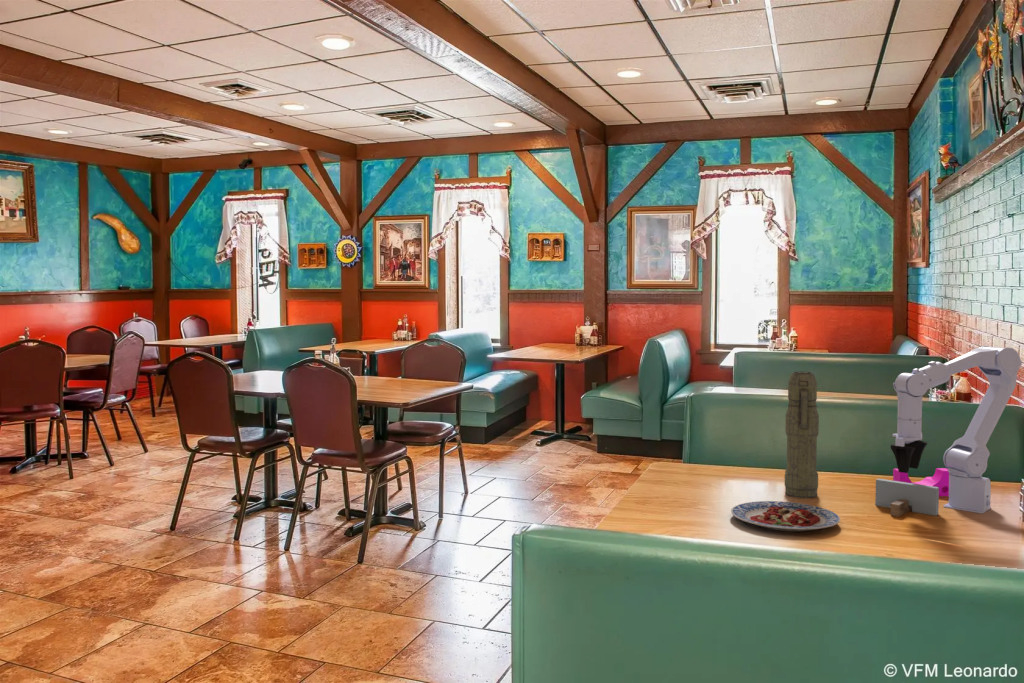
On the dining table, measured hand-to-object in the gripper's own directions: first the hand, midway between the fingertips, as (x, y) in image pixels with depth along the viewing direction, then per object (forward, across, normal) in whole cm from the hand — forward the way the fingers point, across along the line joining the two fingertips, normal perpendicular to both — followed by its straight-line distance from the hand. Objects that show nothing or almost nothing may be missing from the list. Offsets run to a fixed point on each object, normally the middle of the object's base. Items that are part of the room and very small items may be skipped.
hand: (908, 470), depth 211 cm
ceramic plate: (+11, +33, -18) cm, 40 cm away
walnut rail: (+10, +1, 0) cm, 10 cm away
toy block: (+11, -20, -3) cm, 23 cm away
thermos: (+11, +4, -27) cm, 29 cm away
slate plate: (+10, +1, 0) cm, 10 cm away
